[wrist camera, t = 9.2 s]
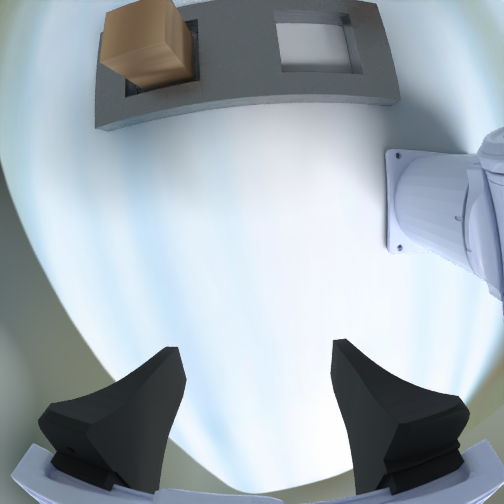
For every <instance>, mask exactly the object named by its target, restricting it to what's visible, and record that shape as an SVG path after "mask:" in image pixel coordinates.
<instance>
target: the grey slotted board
mask: <svg viewBox="0 0 504 504" xmlns="http://www.w3.org/2000/svg"><path fill="white" fill-rule="evenodd" d="M177 10H178V12H179V13H180V15H181V17H182V19H183V20H184V22H185V24H186V26H187V27H188V29H189V31H190V33H193V32H198V42H199V67H200V81H195V82H189V83H184V84H179V85H174V86H169V87H165V88H161V89H156V90H152V91H148V92H145V93H141V94H137V95H136V84H134V83H133V82H131V81H129V80H128V79H126V78H125V77H123V76H122V75H120V74H118V73H117V72H115V71H114V70H112V69H110V68H109V67H107V66H105V65H104V64H102V63H100V55H101V46H102V38H103V32H102V33H101V34H100V42H99V50H98V60H97V73H96V90H95V129H100V130H104V131H112V130H115V129H119V128H123V127H126V126H130V125H134V124H138V123H142V122H146V121H151V120H155V119H160V118H165V117H170V116H175V115H180V114H186V113H191V112H198V111H204V110H211V109H218V108H226V107H235V106H245V105H256V104H270V103H292V102H337V103H359V104H373V105H384V106H391V105H393V104H395V103H397V102H398V101H400V100H401V98H400V92H399V87H398V81H397V77H396V72H395V67H394V63H393V59H392V55H391V51H390V47H389V43H388V39H387V36H386V32H385V29H384V26H383V23H382V19H381V16H380V13H379V10H378V7H377V5H376V4H375V3H369V2H364V1H357V0H216V1H209V2H204V3H198V4H193V5H188V6H183V7H179V8H177ZM275 23H319V24H334V25H343V29H344V33H345V37H346V41H347V46H348V50H349V55H350V60H351V65H352V70H353V74H350V73H333V72H282V66H281V58H280V51H279V44H278V37H277V30H276V24H275Z"/></svg>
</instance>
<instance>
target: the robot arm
mask: <svg viewBox="0 0 504 504" xmlns="http://www.w3.org/2000/svg"><path fill="white" fill-rule="evenodd" d="M396 153H398V154H399V159H397V157H396ZM477 153H478V154H458V155H455V154H447V153H438V152H429V151H418V150H405V149H388V150H387V151H386V154H385V157H386V171H387V195H388V239H387V250H388V252H389V253H391V254H394V255H395V254H406V253H418V252H429V251H431V252H433V253H435V254H437V255H439V256H440V257H442V258H444V259H446V260H448V261H450V262H452V263H454V264H455V265H457V266H459V267H461V268H463V269H464V270H466V271H468V272H470V273H472V274H473V275H475V276H477V277H479V278H480V279H482V280H484V281H485V282H486V283H487V285H488V287H489V292H490V294H491V295H493V296H494V297H496V298H497V299H499V300H500V301H503V302H502V316H503V321H504V127H502V128H499V129H497V130H495V131H493V132H491V133H489V134H488V135H487V136H485V138H484V140H483V142H482V145H481V147H480V148H479V150H478V152H477ZM398 245H401V248H400V249H399V250H397V247H398ZM330 374H331V380H332V385H333V390H334V393H335V396H336V399H337V402H338V405H339V408H340V411H341V414H342V417H343V420H344V423H345V426H346V430H347V433H348V438H349V444H350V449H351V455H352V462H353V469H354V477H355V487H356V496H351V497H346V498H341V499H335V500H329V501H322V502H315V503H306V504H482V503H483V502H484V501H485V500H486V499H487V498H489V496H491V495H492V494H493V493H494V492H495V491H496V490H497V489H498V488H499V487H501V486H502V485H503V484H504V466H503V464H502V463H501V461H500V459H499V458H498V456H497V454H496V453H495V451H494V449H493V448H492V446H491V444H490V443H489V442H488V440H487V439H484V440H483V441H481V442H479V443H477V444H475V445H473V446H471V447H470V448H468V449H466V450H465V451H464V452H462V453H461V454H460V452H459V450H458V448H459V447H460V443H459V442H458V440H457V439H458V437H459V436H460V434H461V432H462V431H463V429H464V428H465V426H466V424H467V422H468V420H469V415H470V412H469V410H468V408H467V407H466V406H465V404H464V403H463V401H462V400H461V399H460V397H459V396H455V395H449V394H443V393H438V392H435V391H431V390H427V389H424V388H421V387H419V386H416V385H414V384H411V383H409V382H407V381H404V380H402V379H400V378H399V377H397V376H395V375H393V374H391V373H390V372H388V371H386V370H385V369H383V368H382V367H380V366H379V365H377V364H376V363H375V362H373V361H372V360H371V359H369V358H368V357H367V356H366V355H364V354H363V353H362V352H361V351H360V350H359V349H357V348H356V347H355V346H354V345H353V344H352V343H350V342H349V341H348V340H347V339H339V340H333V350H332V362H331V373H330ZM186 380H187V379H186V375H185V372H184V368H183V364H182V361H181V357H180V353H179V349H178V347H165V348H164V349H162V350H161V351H159V352H158V353H157V354H156V355H154V356H153V357H152V358H150V359H149V360H148V361H147V362H145V363H144V364H143V365H141V366H140V367H139V368H137V369H136V370H134V371H133V372H131V373H130V374H128V375H127V376H125V377H124V378H122V379H121V380H119V381H117V382H115V383H114V384H112V385H110V386H108V387H106V388H103V389H101V390H99V391H97V392H94V393H92V394H89V395H86V396H83V397H79V398H76V399H73V400H68V401H62V402H57V403H51V404H50V405H49V407H48V408H47V409H46V410H45V412H44V413H43V414H42V416H41V417H40V418H39V420H38V424H39V427H40V429H41V430H42V432H43V434H44V435H45V436H46V438H47V439H48V440H49V442H50V443H51V444H52V445H53V447H54V448H55V449H56V450H57V452H56V454H55V455H53V454H52V453H51V452H49V451H48V450H46V449H43V448H41V447H39V446H38V445H36V444H32V446H31V447H30V448H29V450H28V451H27V453H26V454H25V456H24V457H23V458H22V460H21V461H20V463H19V464H18V466H17V467H16V468H15V470H14V472H13V473H12V474H11V477H12V478H13V479H14V480H15V481H16V482H17V483H18V484H19V485H20V486H21V487H22V488H23V489H24V490H26V491H27V492H28V493H29V494H30V495H31V496H32V497H34V498H35V499H36V500H37V501H39V502H40V503H41V504H285V503H284V502H283V501H282V500H280V499H276V498H272V497H269V496H256V495H230V494H215V493H204V492H196V491H188V490H181V489H169V488H165V489H161V490H159V483H160V476H161V469H162V463H163V457H164V453H165V448H166V444H167V439H168V436H169V433H170V430H171V427H172V424H173V422H174V419H175V416H176V414H177V411H178V409H179V406H180V403H181V401H182V398H183V394H184V390H185V385H186Z"/></svg>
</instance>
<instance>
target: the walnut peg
mask: <svg viewBox="0 0 504 504" xmlns="http://www.w3.org/2000/svg"><path fill="white" fill-rule="evenodd" d="M100 63H102V64H104V65H105V66H107V67H109V68H110V69H112V70H114V71H115V72H117V73H118V74H120V75H122V76H123V77H125V78H126V79H128V80H129V81H131V82H133V83H134V84H136V85H137V86H139V87H140V88H142V89H143V90H145V91H149V90H153V89H157V88H162V87H166V86H171V85H176V84H181V83H186V82H191V81H195V56H194V38H193V36H192V34H191V33H190V31H189V29H188V27H187V26H186V24H185V22H184V20H183V19H182V17H181V15H180V13H179V12H178V10H177V8H176V6H175V5H174V3H173V1H172V0H140V1H137V2H134V3H131V4H128V5H125V6H123V7H120V8H117V9H115V10H112V11H110V12H107V13H106V18H105V24H104V31H103V38H102V46H101V55H100Z"/></svg>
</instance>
